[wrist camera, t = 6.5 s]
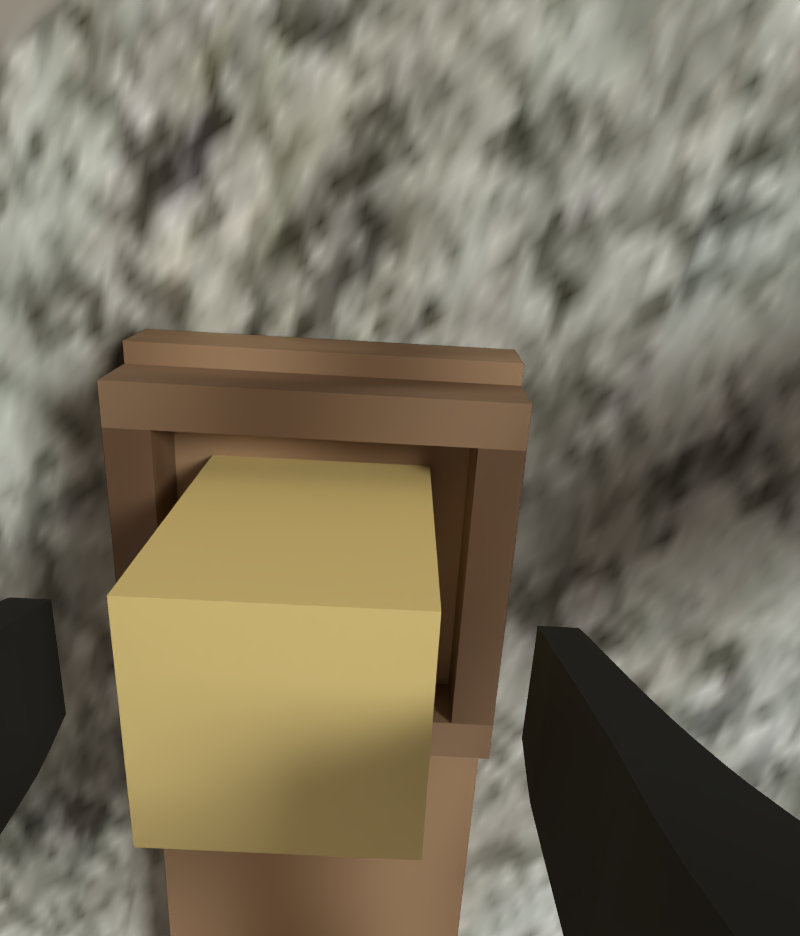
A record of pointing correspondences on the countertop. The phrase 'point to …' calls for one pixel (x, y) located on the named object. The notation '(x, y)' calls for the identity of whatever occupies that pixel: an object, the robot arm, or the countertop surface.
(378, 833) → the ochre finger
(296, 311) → the countertop surface
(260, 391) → the brown wooden tray
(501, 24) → the countertop surface
